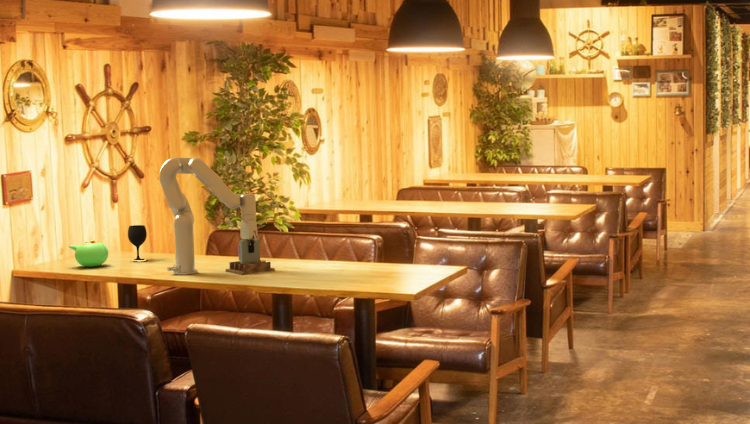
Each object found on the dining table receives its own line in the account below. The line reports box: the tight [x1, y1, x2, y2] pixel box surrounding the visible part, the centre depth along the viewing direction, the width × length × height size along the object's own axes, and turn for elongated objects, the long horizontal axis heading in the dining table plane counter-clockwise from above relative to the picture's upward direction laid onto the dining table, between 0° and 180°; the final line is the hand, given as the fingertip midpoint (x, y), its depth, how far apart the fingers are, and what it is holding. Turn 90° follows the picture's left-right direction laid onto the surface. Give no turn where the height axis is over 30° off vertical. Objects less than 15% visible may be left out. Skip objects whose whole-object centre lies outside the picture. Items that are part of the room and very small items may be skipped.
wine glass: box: [127, 224, 148, 260], centre depth 542 cm, size 10×10×20 cm
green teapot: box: [68, 239, 109, 268], centre depth 522 cm, size 18×17×15 cm
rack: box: [225, 259, 276, 276], centre depth 498 cm, size 20×16×5 cm
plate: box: [239, 238, 261, 264], centre depth 497 cm, size 11×2×12 cm, turn 129°
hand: (250, 252), depth 497 cm, fingers closed on plate, 2 cm apart
